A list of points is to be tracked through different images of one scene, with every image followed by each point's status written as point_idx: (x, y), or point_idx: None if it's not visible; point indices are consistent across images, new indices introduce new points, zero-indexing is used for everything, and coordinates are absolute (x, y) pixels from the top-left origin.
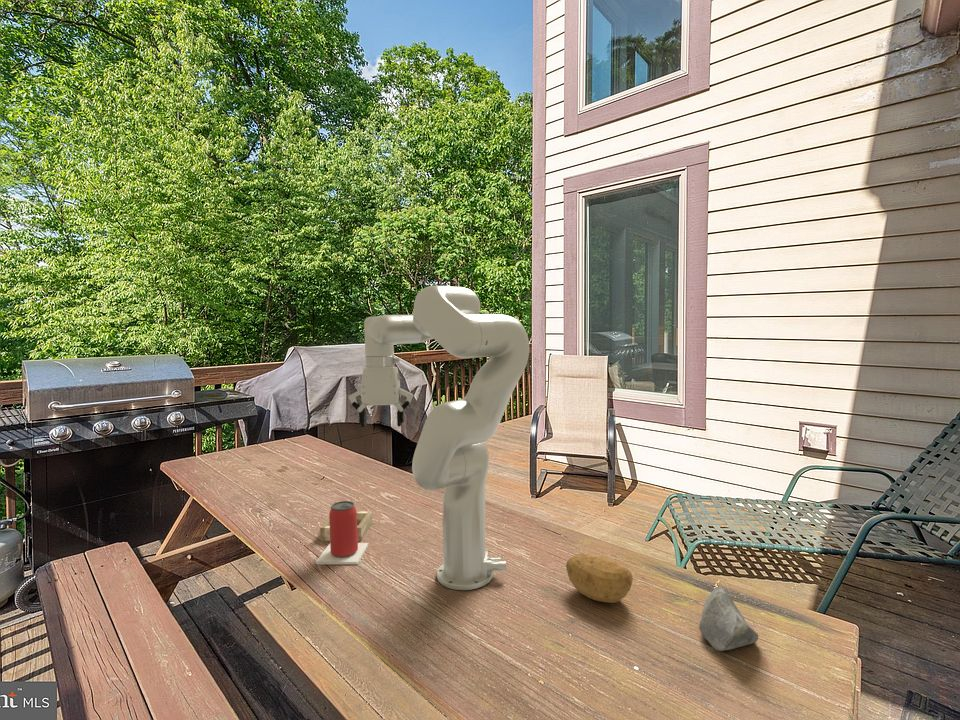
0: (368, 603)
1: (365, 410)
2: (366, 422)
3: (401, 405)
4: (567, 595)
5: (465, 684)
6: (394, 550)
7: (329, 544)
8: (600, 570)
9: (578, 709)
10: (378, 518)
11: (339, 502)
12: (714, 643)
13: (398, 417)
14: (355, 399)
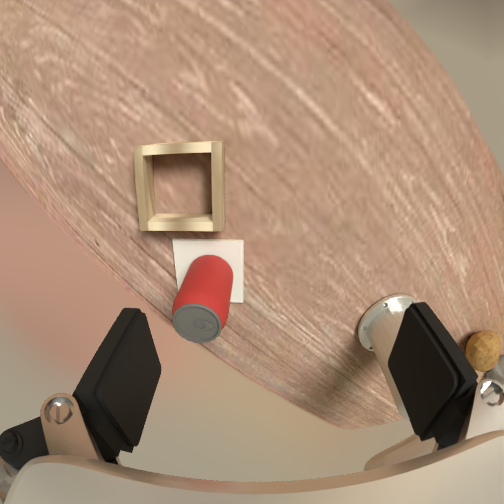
0: (280, 369)
1: (92, 398)
2: (139, 324)
3: (487, 425)
4: (458, 341)
5: (356, 419)
6: (295, 259)
7: (173, 246)
8: (483, 368)
9: (405, 418)
10: (231, 112)
11: (181, 309)
12: (487, 376)
13: (412, 407)
14: (10, 484)
